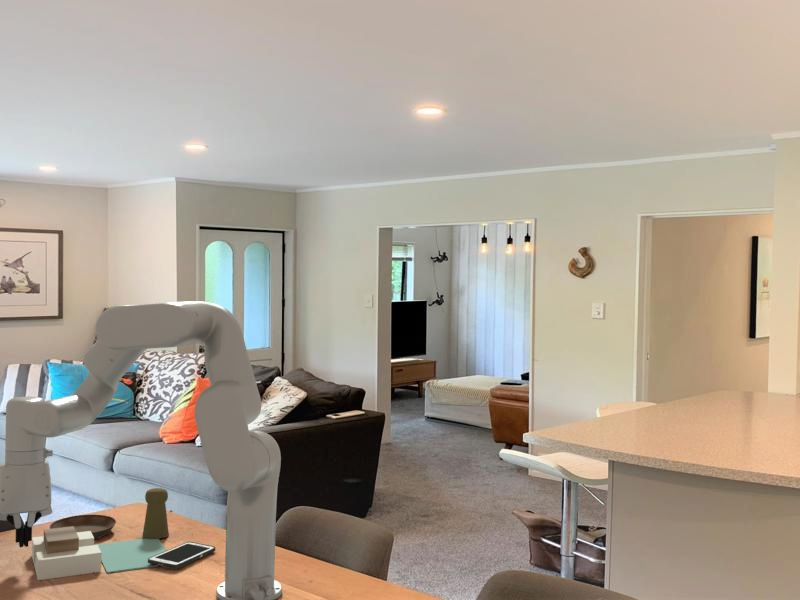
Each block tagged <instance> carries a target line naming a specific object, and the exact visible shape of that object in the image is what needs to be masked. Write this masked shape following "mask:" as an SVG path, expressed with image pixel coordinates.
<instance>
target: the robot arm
mask: <svg viewBox="0 0 800 600" xmlns="http://www.w3.org/2000/svg"><path fill="white" fill-rule="evenodd" d="M94 329H95V335H96V338H97V340H96V341H95V342H94V343H93V344H92V346H91V347H90V348H89V349H88V350H87V351H86V352H85V354H84V356H83V359H82V361H83V365H84V366H85V368H86V370H87V372H89V373H88V375H87V376H86V378H85V379H84V381H83V382H81V384H80V385H79V386H78V388H77V389H76V390H75V391H74V392H73V393H71V394H70V395H67V396H63V397H62V396H61V397H58V398H54V399H49V400H45V399H44V398H43V397H40V396H16V397H13V398H10V399H9V400H8V401H7V402H6V406H5V440H4V441H5V442H4V443H5V447H4V449H5V452H4V453H5V454H4V462H3V463H2V464H0V521H7V522H9V524H10V525H12V526H13V527H14V528H15V543H18V545H19V548H23V547H25V548H27V547H29V542H32V538H33V527H34V525H35V524H36V523H37V522H38V520H39V519H40V518H43V517H47V516H49V515H52V514H53V508H52V481H51V480H52V479H51V470H50V464H49V461H48V460H46V459H47V458H49V457H53V454H54V453H53V449H48V448H47V447H46V438H57V437H60V436H63V435H67V434H69V433H70V434H71V433H73V432H76V431H79V430H83V429H85V428H87V427H88V426H89V425H91V424H92V423H93V422H94V421H96V419H97V418H98V417H99V415H101V414H102V412H103V411H104V410H105V409H106V408H107V406H108V405H109V404H110V403H111V402H112V400H113V399H114V396H115V394H116V392H117V390H118V387H119V382H120V380H121V379H122V377H123V376H124V375H125V374H126V373H127V372H128V371H129V369H131V367H132V366H133V364H135V363H136V361H137V360H139V358H140V357H141V356H142V355H143V354H144V353H145V351H146V350H148V349H163V348H165V349H166V348H167V349H168V348H169V349H170V348H177V347H183V346H190V345H195V344H197V345H198V344H200V345H202V346H203V348H204V353H203V354H204V357H203V358H204V365H205V370H206V373H207V376H208V381H209V386H207V387H206V388H204V389H203V390H202V391H201V392H200V393H199V395H198V397H197V398H196V402H195V406H194V420H195V421H194V422H195V425H196V429H197V432H198V436H199V440H200V443H201V448H202V451H203V455H204V458H205V463H206V466H207V469H208V472H209V474H210V477H211V479H212V480H213V483H215V485H216V486H217V487H218V488H219V489H221V490H223V491H225V492H227V501H226V520H225V521H226V522H225V560H224V561H225V567H224V568H225V569H224V581H223V582H221V583H220V584H219V585H218V586H217V587H216V590H215V593H216V597H217V599H219V600H277V599H278V598H279V597H280V596H281V595H282V594H283V592H282V591H283V585H282V584H281V583H280V582H279V581H278V580H276V579H275V564H276V563H275V560H276V556H275V555H276V525H277V524H276V521H277V520H276V518H277V499H278V487H279V486H278V484H279V477H280V472H281V464H282V463H281V461H282V456H281V449H280V446H279V444H278V442H277V441H276V440H275V438H274V437H273V436H272V435H270V434H268V432H265V431H261V430H251V431H249V426H248V425H250V424H252V423H253V422H254V421H256V420H257V418H258V417H259V416H260V413H261V411H262V400H261V399H262V398H261V395H260V392H259V389H258V384H257V381H256V378H255V374H254V369H253V366H252V363H251V360H250V357H249V354H248V351H247V346H246V343H245V342H246V341H245V338H244V334H243V331H242V327H241V325H240V322H239V321H238V319H237V318H236V317H235V315H234V314H233V313H232V312H231V311H230V310H228V309H227V308H226V307H224V306H222V305H219V304H218V303H217V304H216V303H213V302H207V301H200V300H199V301H198V300H196V301H195V300H193V301H192V300H191V301H190V300H189V301H173V302H172V301H169V302H158V303H157V302H156V303H147V304H146V303H145V304H126V305H125V304H123V305H122V304H119V305H113V306H110V307H108V308H107V309H105V310H104V311H103V312H102V313H101V314H100V315H99V316H98V318H97V321H96V323H95V328H94ZM25 513H26V514H27V517H26V521H25V523H23V522H22V521H21V514H25Z"/></svg>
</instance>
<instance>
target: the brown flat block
mask: <svg viewBox="0 0 800 600" xmlns="http://www.w3.org/2000/svg"><path fill="white" fill-rule="evenodd" d="M43 536H44V544H45V548H46V551H47V554H50V553H59V552H67V551H75V550H79V537H78V535H77V533H76V530H75V528H74V526H71V527H62V528H53V529H50V528H45V529H43Z"/></svg>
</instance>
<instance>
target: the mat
mask: <svg viewBox="0 0 800 600" xmlns="http://www.w3.org/2000/svg"><path fill="white" fill-rule="evenodd" d="M95 545H98V547H99V549H100V551H101V564H102V563H103V564H102V565H104V566H103V567H105V568H104V570H105V569H106V570H105V572H106V574H111V572H114V573H118V572H117V571H121V572H126V571H125V570H128V571H135V570H141V569H147V567H148V569H149V567H150V568H155V567H156V566H157V567H159V566H158V565H153V564H149V563H148V559H149V558H150V557H153V556H155V555H157V554H160V553H162V552H165V551H167V550H168V549H167V548H166V547H165V545H164V544H163V543H162V542H161V540H160V538H158V539H148V538H138V539H130V540H121V541H115V542H114V541H113V542H105V543H96V544H95ZM134 569H135V570H134Z"/></svg>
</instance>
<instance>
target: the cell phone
mask: <svg viewBox="0 0 800 600" xmlns="http://www.w3.org/2000/svg"><path fill="white" fill-rule="evenodd" d="M166 550H167V551H165V552H162V553H160V554H157V555H155V556H153V557H150V558H149V559H148V563H149V564H153V565H158V566H157V567H163V568H168V569H175V570H176V569H179V568H182V567H184V566H185V565H188V564H190V563H193V562H194V561H196V560H199V559H201V558H204V557H205V556H207V555H210V554H212V553H214V552H216V546H214V545H209V544H204V543H199V542H193V541H186V542H184V543H181V544H179V545H176V546H175V547H172V548H169V549H166Z"/></svg>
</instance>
